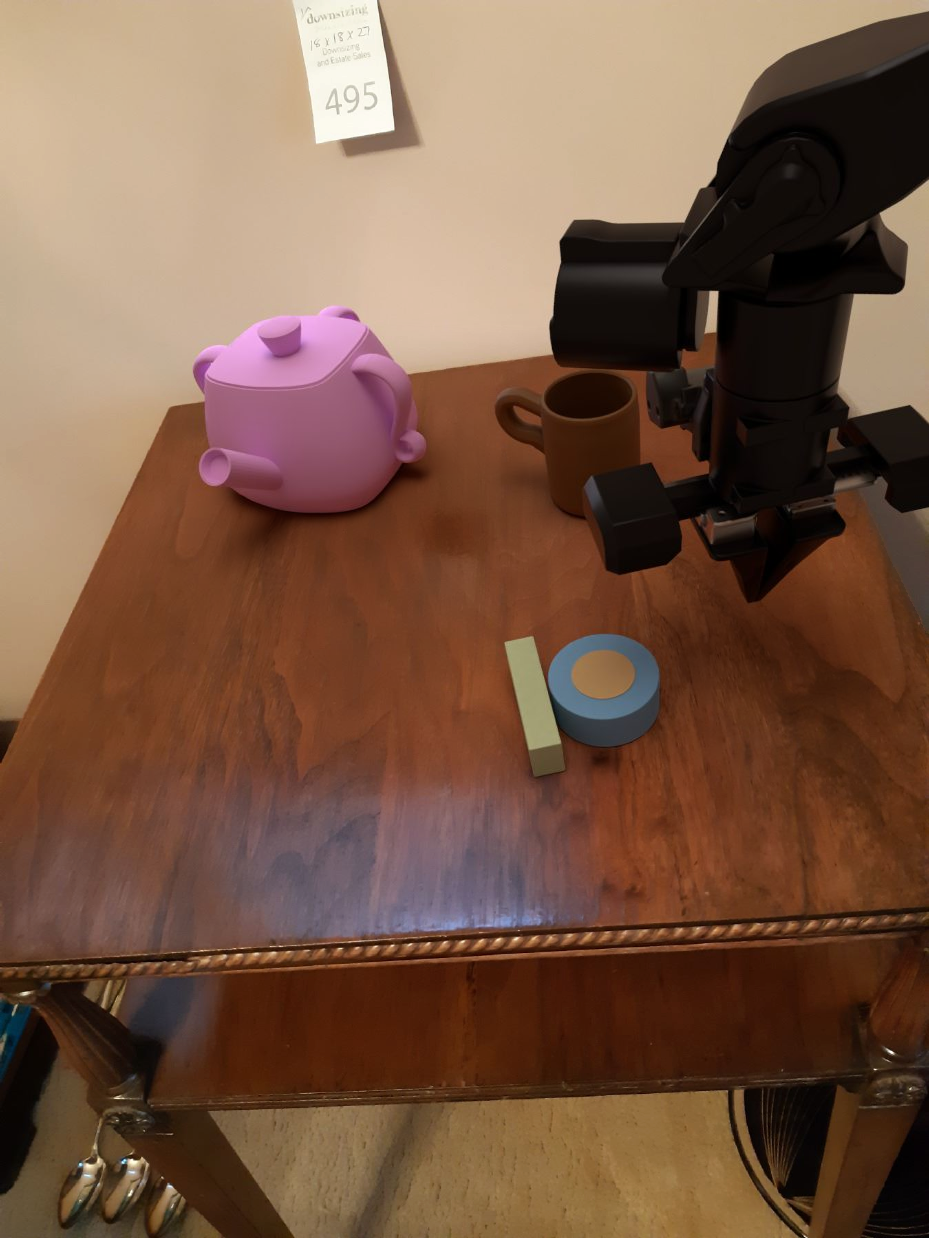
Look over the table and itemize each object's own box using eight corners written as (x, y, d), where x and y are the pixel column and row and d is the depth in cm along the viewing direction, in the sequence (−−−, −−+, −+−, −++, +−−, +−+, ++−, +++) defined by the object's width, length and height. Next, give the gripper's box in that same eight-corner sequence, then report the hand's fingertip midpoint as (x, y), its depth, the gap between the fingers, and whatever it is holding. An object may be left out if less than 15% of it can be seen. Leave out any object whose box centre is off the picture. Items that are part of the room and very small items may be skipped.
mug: (488, 503, 72) (470, 409, 65) (523, 451, 76) (510, 358, 69) (623, 527, 67) (619, 428, 60) (653, 470, 71) (652, 371, 64)
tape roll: (642, 653, 58) (641, 623, 55) (673, 734, 53) (674, 705, 51) (542, 674, 58) (538, 645, 56) (564, 757, 53) (560, 728, 51)
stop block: (537, 664, 59) (533, 635, 56) (565, 770, 52) (561, 743, 50) (509, 670, 59) (504, 641, 56) (534, 777, 52) (528, 750, 50)
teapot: (398, 387, 87) (363, 251, 77) (455, 499, 73) (421, 349, 63) (221, 444, 86) (161, 312, 75) (243, 570, 71) (172, 427, 61)
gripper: (886, 258, 45) (842, 486, 57) (549, 334, 46) (571, 545, 57) (1007, 357, 38) (928, 599, 49) (600, 447, 38) (614, 667, 49)
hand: (750, 597), depth 51 cm, fingers closed
